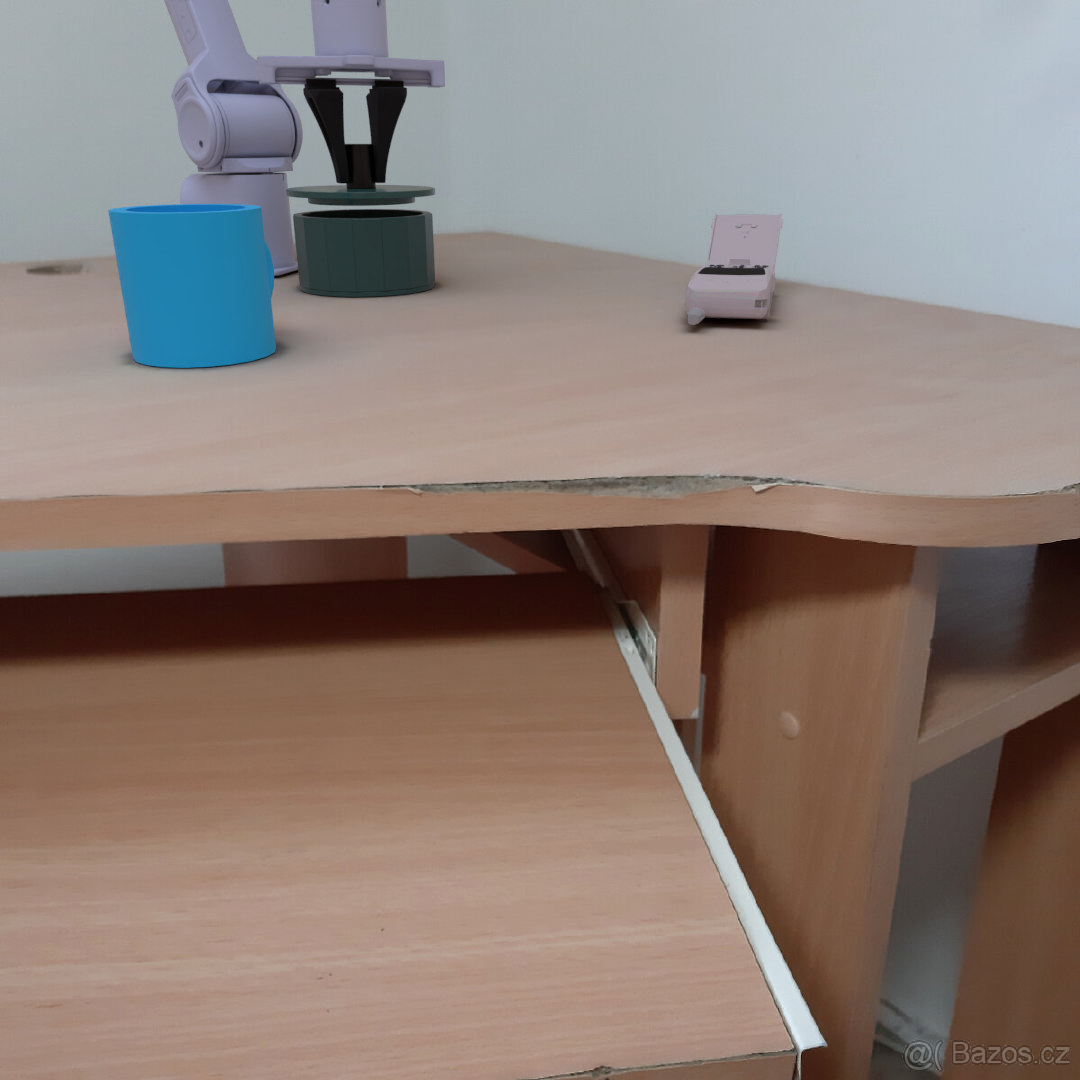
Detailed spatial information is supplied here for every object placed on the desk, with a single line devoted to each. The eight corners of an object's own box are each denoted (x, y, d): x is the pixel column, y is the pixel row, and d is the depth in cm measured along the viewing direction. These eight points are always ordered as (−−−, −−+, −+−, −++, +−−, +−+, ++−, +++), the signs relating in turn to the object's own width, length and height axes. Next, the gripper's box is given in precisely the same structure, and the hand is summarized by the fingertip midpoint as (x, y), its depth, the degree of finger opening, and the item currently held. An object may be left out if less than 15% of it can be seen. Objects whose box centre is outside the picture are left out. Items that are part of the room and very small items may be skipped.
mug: (227, 371, 52) (207, 214, 49) (101, 362, 54) (74, 211, 51) (330, 332, 63) (319, 201, 60) (221, 326, 65) (205, 199, 62)
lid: (261, 206, 75) (255, 144, 73) (321, 197, 86) (316, 143, 84) (410, 208, 73) (407, 144, 71) (452, 198, 84) (450, 143, 82)
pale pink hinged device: (784, 213, 82) (776, 238, 59) (778, 283, 84) (769, 333, 62) (713, 213, 83) (679, 237, 61) (709, 282, 85) (675, 331, 63)
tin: (277, 295, 78) (269, 217, 76) (330, 276, 88) (324, 208, 86) (411, 298, 76) (407, 219, 74) (449, 279, 87) (446, 209, 84)
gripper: (255, -17, 68) (275, 186, 73) (452, -7, 73) (458, 183, 78) (247, -5, 74) (267, 182, 79) (430, 4, 79) (436, 180, 84)
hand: (360, 182), depth 79 cm, fingers closed on lid, 2 cm apart
